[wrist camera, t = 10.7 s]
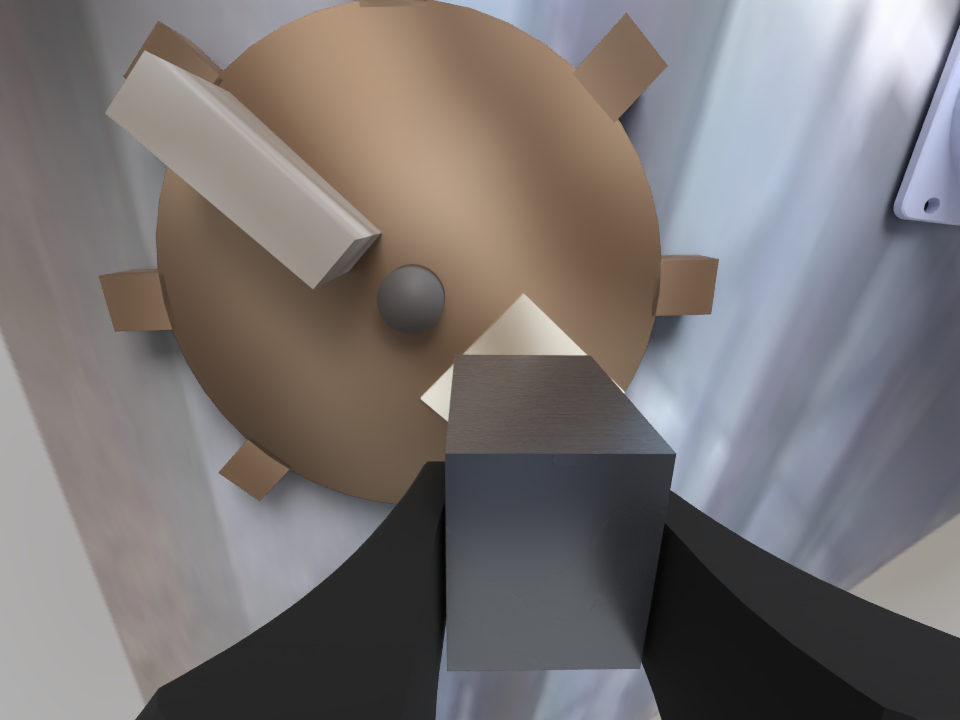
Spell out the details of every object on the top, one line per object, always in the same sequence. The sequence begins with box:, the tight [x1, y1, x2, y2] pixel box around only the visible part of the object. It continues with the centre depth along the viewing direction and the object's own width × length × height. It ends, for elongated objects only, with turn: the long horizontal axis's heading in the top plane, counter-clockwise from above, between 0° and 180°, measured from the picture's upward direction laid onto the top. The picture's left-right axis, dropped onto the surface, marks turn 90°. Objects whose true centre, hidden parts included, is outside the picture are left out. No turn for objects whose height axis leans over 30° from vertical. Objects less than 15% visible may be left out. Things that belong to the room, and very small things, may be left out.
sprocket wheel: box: [99, 0, 719, 504], centre depth 14 cm, size 20×20×5 cm
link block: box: [445, 354, 676, 671], centre depth 10 cm, size 4×4×5 cm
